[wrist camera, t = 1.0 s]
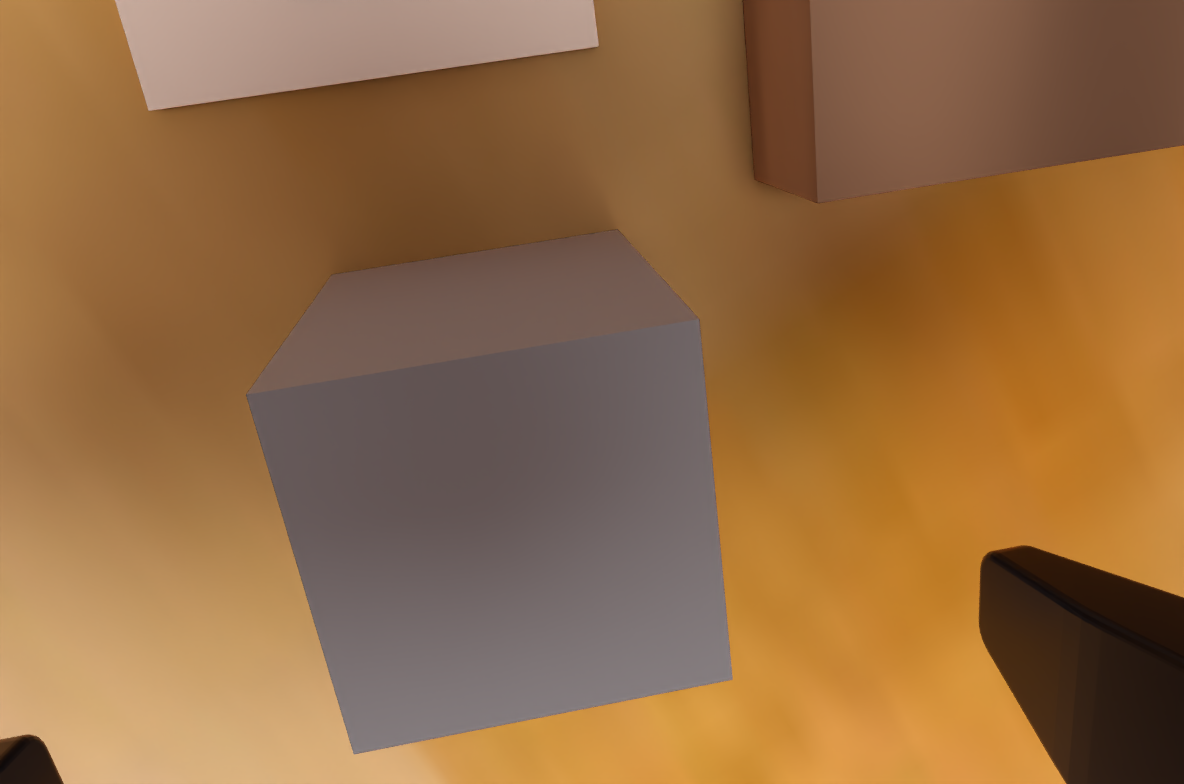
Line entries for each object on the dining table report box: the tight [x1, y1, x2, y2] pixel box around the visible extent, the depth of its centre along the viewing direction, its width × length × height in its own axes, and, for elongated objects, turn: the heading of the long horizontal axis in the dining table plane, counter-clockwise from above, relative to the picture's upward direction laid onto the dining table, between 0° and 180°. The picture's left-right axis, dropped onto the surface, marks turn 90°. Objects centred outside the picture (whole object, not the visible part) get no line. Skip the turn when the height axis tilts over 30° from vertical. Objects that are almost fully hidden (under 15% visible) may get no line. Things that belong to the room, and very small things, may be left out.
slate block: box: [246, 229, 733, 754], centre depth 13 cm, size 5×5×6 cm
